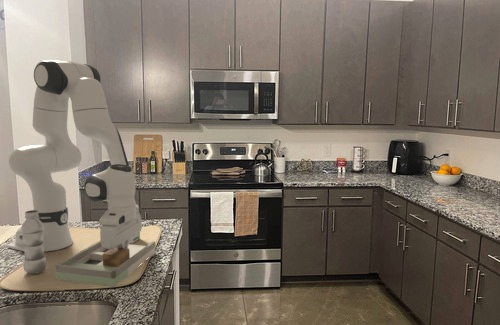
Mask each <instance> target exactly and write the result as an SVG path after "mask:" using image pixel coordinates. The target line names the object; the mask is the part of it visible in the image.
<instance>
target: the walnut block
mask: <svg viewBox="0 0 500 325" xmlns="http://www.w3.org/2000/svg"><path fill="white" fill-rule="evenodd" d="M129 258H130V254H129V249H127V248H116V247H115V248H114V249H112V250H110V249H109V250H108V251H106V252H105V253H103V266H111V267H118V266H120V265H121V264H123V263H124V262H125V261H127V260H128V259H129Z"/></svg>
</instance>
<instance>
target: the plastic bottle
mask: <svg viewBox="0 0 500 325" xmlns="http://www.w3.org/2000/svg"><path fill="white" fill-rule="evenodd" d="M38 217H39V215H38V211H37V210H34V209H33V210H32V209H31V210H27V211H25V212H24V218H25V221H24V222H23V223H22V225H21V226H20V227H21V232H22V237H23V241H24V248H25V251H24V260H23V269H24V272H25V273H27V274H30V275H32V274H35V275H36V274H39V273H42V272H44V271H45V270H46V268H47V266H48V265H47V258H46V255H45V252H44V248H43V235H44V225H43V223H42V222H41V221H40V220H39V219H38Z"/></svg>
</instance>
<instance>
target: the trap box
mask: <svg viewBox="0 0 500 325" xmlns="http://www.w3.org/2000/svg"><path fill="white" fill-rule="evenodd" d="M116 248H118V247H116ZM128 249H129V254H130V258H129V259H128V260H127V261H125V262H124V263H123V264H121V265H120V266H118V267H111V266H103V253H105V252H106V251H108V250H109V249H103V248H102V246H101V239H99V241H96V242H95V243H92V244H91V245H89V246H88V247H86V248H84V249H82V250H80V251H79V252H76V253H75V254H74V255H71V256H69V257H68V258H66V259H65V260H64V259H63V261H61V262H59V263H57V264H56V265H54V266H55V279H56V280H59V281H65V282H74V283H84V284H91V285H100V286H107V287H116V286H117V285H119V284H120V283H121V282H122V281H124V279H126V278H127V277H128V276H130V275H131V274H132V273H133V272H134V271H136V270H137V269H138V268H139V267H140V266H139V265H140V264H141V263H143V262H144V261H145V260H146V259H147V258H148V257H150V256H151V257H150V258H152V257H153V256H155V254H156V241H153V240H152V241H150V243H148V244H147V245H140V244H132V243H129V245H128ZM145 262H146V261H145ZM145 262H144V263H145ZM144 263H143V264H144ZM138 266H139V267H138ZM137 267H138V268H137ZM136 268H137V269H136ZM135 269H136V270H135ZM132 271H133V272H132ZM131 272H132V273H131ZM130 273H131V274H130Z"/></svg>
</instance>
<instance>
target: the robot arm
mask: <svg viewBox="0 0 500 325" xmlns="http://www.w3.org/2000/svg"><path fill="white" fill-rule="evenodd" d="M33 79H34V82H35V85H36V90H35V92H34V98H33V109H32V110H33V112H32V127H33V129H34V131H35V132H37V133H38V134H39V135H41V136H43V137H44V138H45V139H44V140H45V144H36V145H35V144H33V145H25V146H21V147H19V148H15V149H13V151H11V152H10V155H9V157H8V163H9V167H10V169H11V171H12V172H13V173H14V174H15V175H17V176H18V177H20V178H21V179H23V180H24V181H25V183H27V185H28V186H29V189H30V191H31V196H32V204H33V205H32V206H33V207H32V208H33V210H37V211H38V215H39V217H38V219H39V220H40V221H41V222H42V223H43V225H44V235H43V248H44V253H45V252H52V251H58V250H62V249H64V248H68V247H70V246H71V245H72V244H73V243H74V240H73V238H72V236H71V231H70V227H69V223H68V222H69V221H68V220H69V209H68V207H67V195H66V192H67V191H66V189H65V187H64V186H63V185H62V184H60V183H58V182H55V181H54V180H53V178H52V174H56V173H61V172H62V173H63V172H67V171H70V170H73V169H76V168H77V167H79V165H80V163H81V162H82V152H81V151H80V149H79V148H78V146H77V145H75V144H74V143H73V141H72V140H71V139H70V136H69V132H68V113H69V111H68V110H69V99H70V101H71V110H72V117H73V122H74V125H75V128H76V129H77V131H78V132H79V133H80V134H82V135H83V136H84V137H87V138H89V139H92V140H95V141H97V142H99V143H101V144H102V145H103V146H104V147H105V149H106V153H107V156H108V158H109V163H110V165H108V167H107V168H106V169H105V170H103V171H100V172H97V173H94V174H91V175H89V176H87V178H86V179H85V181H84V184H83V185H84V186H83V188H84V194H85V196H86V197H87V198H88V200H90V201H91V202H94V203H95V202H98V203H99V202H100V203H101V202H103V201H104V202H107V209H106V211H105V212H104V213H103V215H102V216H101V217H100V218H99V222H98V223H99V225H101V227H100V230H99V231H100V232H99V234H100V235H99V237H100V238H99V240H101V246H102V248H103V249H110V250H112V249H114V248H115V247H118V248H127V249H128V245H129V244H130V243H129V242H130V238H131V237H132V236H134V235H136V234H137V233H139V232H141V231H142V227H143V224H142V216H141V213H140V210H138V209H137V208H136V204H137V202H136V199H135V195H136V179H135V178H136V177H135V174H134V170H133V168H132V167H131V166H130V165H129V161H128V158H127V154H126V152H125V147H124V143H123V140H122V138H121V134H120V132H119V130H118V128H117V127H116V126H114V124H113V123H114V122H112V120H111V116H110V114H109V109H108V108H109V107H108V103H107V99H106V95H105V91H104V88H103V86H102V84H101V82H102V81H101V74H100V72H99V70H98V69H97V68H96V67H94V66H92V65H90V64H87V63H79V62H76V61H71V60H69V61H63V60H53V59H50V60H49V59H48V60H47V59H46V60H42V61H39V62H38V63H37V64H36V66H35V68H34V71H33ZM21 227H22V226H20V227H19V228H18V229H17V230H16V232H15V240H13V241H12V242H10V243H9V244H8V247H7V248H9V249H13V250H17V251H21V252H25V248H24V241H23V237H22V232H21Z"/></svg>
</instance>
